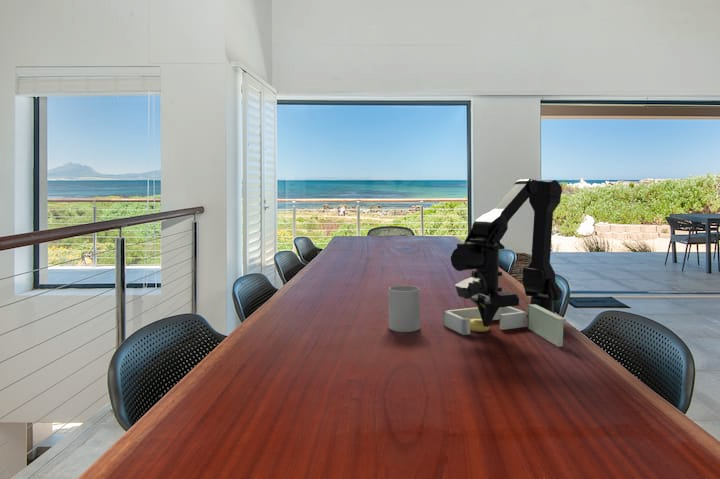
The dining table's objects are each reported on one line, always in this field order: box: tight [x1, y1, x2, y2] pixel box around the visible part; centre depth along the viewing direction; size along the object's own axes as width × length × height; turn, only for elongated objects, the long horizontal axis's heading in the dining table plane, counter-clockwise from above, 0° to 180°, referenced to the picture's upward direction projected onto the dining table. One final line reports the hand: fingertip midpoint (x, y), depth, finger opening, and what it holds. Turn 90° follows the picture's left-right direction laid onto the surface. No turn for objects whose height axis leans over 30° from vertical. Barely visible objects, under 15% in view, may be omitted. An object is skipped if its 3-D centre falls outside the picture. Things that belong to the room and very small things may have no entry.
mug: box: [388, 284, 421, 333], centre depth 127 cm, size 12×8×11 cm
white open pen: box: [442, 303, 532, 336], centre depth 126 cm, size 20×12×6 cm, turn 110°
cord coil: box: [470, 319, 490, 333], centre depth 124 cm, size 6×6×2 cm
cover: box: [528, 304, 567, 348], centre depth 116 cm, size 15×2×7 cm, turn 6°
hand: (486, 326), depth 121 cm, fingers closed
